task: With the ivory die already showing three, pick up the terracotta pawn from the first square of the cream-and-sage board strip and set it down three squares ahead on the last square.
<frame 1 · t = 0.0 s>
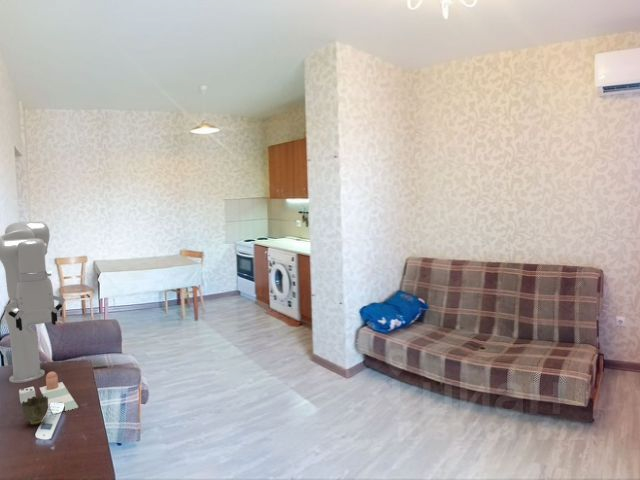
hand: (37, 326, 149), 31 cm above the table, tool pointing down, fingers open, 9 cm apart
pawn: (52, 387, 174), resting on board
board: (57, 397, 165), on the table
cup: (36, 423, 146), on the table
die: (28, 401, 163), on the table
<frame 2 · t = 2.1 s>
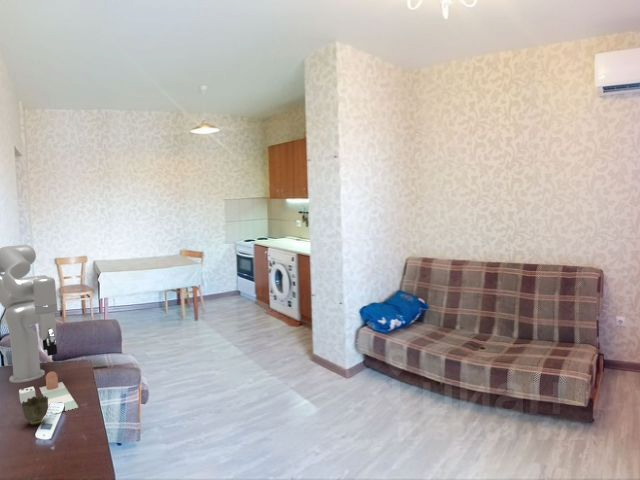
hand: (50, 352, 172), 15 cm above the table, tool pointing down, fingers open, 9 cm apart
nothing on the table moved.
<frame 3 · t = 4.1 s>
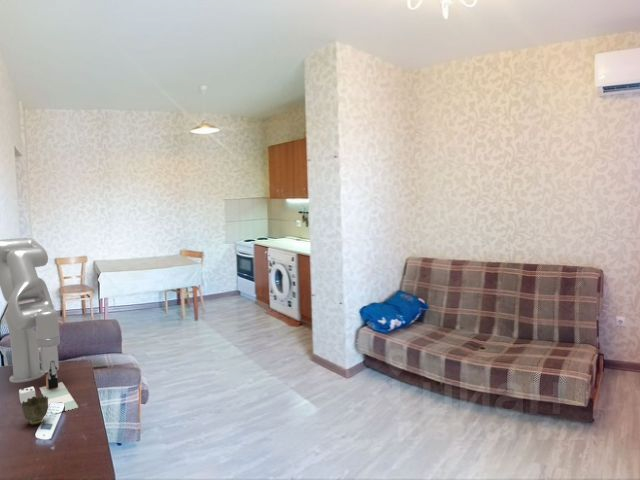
hand: (52, 385, 174), 1 cm above the table, tool pointing down, fingers closed on pawn, 4 cm apart
pawn: (52, 387, 174), resting on board, touching gripper
everything else where it was.
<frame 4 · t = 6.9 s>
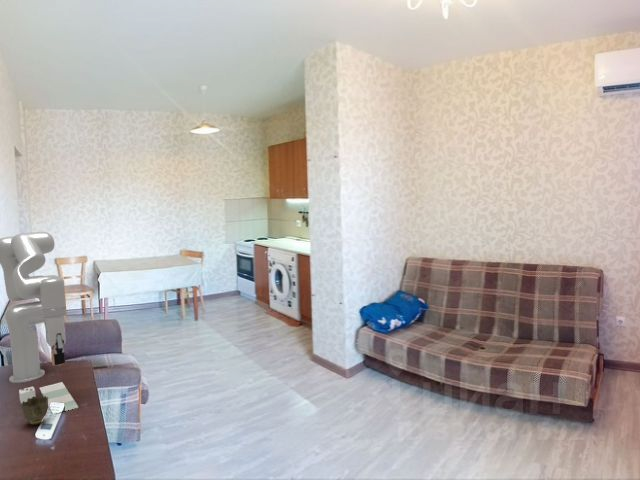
hand: (58, 361, 158), 16 cm above the table, tool pointing down, fingers closed on pawn, 4 cm apart
pawn: (58, 363, 158), point 15 cm above the table, touching gripper
everything else where it was.
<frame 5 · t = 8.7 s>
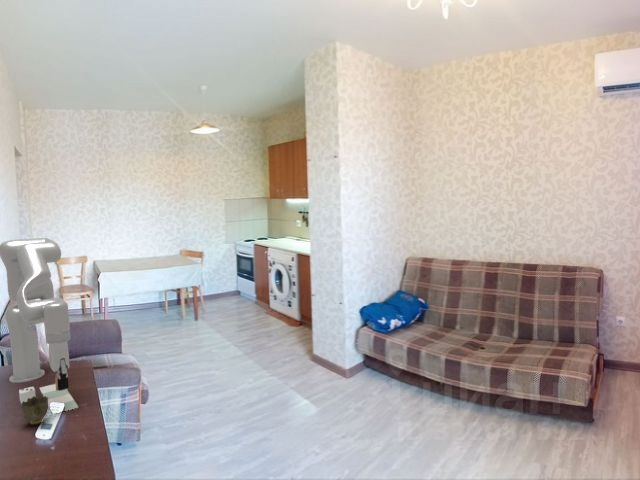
hand: (62, 386, 156), 8 cm above the table, tool pointing down, fingers closed on pawn, 4 cm apart
pawn: (62, 388, 156), point 7 cm above the table, touching gripper
everything else where it was.
when the fingers open (3 cm above the table, at t = 10.0 s): pawn drops 2 cm, resting on board.
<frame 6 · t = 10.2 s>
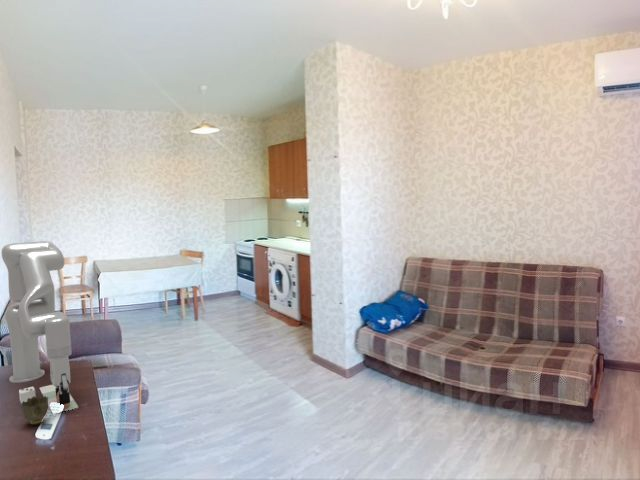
hand: (63, 400, 157), 3 cm above the table, tool pointing down, fingers open, 5 cm apart
pawn: (63, 406, 157), resting on board
everything else where it was.
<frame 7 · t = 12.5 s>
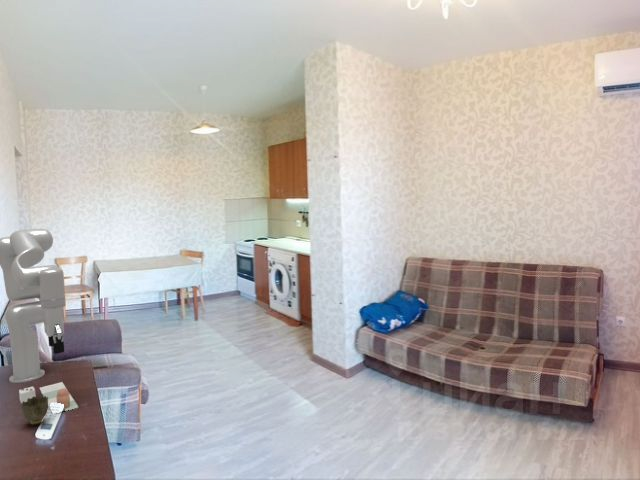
hand: (56, 349, 159), 20 cm above the table, tool pointing down, fingers open, 9 cm apart
nothing on the table moved.
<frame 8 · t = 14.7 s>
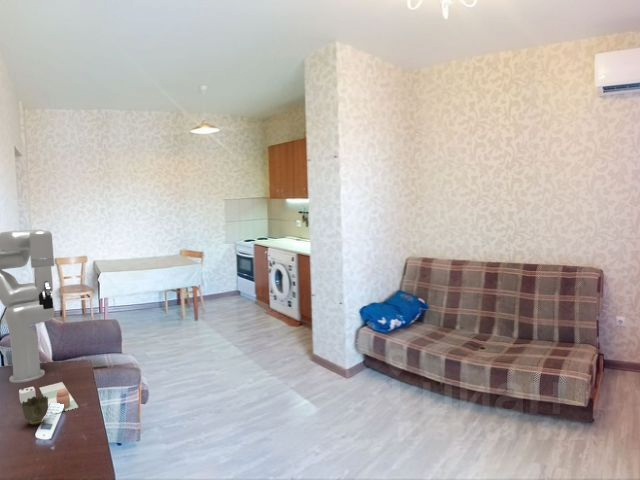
hand: (46, 306, 170), 33 cm above the table, tool pointing down, fingers open, 9 cm apart
nothing on the table moved.
at the end: pawn 0.1 cm from the target spot on the board, point 0.4 cm above the board's base; pawn tilted 2°; the gripper is holding nothing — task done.
